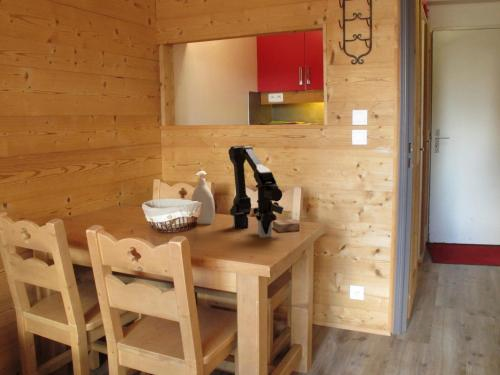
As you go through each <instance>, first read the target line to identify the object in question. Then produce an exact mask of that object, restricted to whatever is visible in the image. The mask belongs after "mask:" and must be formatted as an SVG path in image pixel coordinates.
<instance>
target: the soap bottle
mask: <svg viewBox="0 0 500 375" xmlns="http://www.w3.org/2000/svg"><path fill="white" fill-rule="evenodd" d="M205 175H207V172H205V171H204V170H200V171H198V172H197V173H194V176H200V178H198V180H197V181H198V183H197V186H196V187H195V189H194V191H193V193H192V195H191V201H198V202H202V205H201V213H200V216H199V217H198V219H197V223H196V224H199V225H211V224H212V223H213V222H214V219H215V216H216V215H215V214H216V211H215V210H216V207H215V201H214V200H215V199H214V196H213V194H212V192H211V190H210V188H209V187H208V186H207V184H206V178H204V176H205Z"/></svg>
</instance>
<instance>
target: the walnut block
mask: <svg viewBox="0 0 500 375" xmlns="http://www.w3.org/2000/svg"><path fill="white" fill-rule="evenodd" d="M300 224H301V223H300V222H298V221H296V220H295V219H293V218H289V219H276V220H274V221H272V228H273V229H274V230H276V231H277V232H278V233H287V232H286V231H290V232H298V231H297V230H300V227H301V226H300ZM295 230H296V231H295Z"/></svg>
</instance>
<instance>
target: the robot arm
mask: <svg viewBox="0 0 500 375" xmlns="http://www.w3.org/2000/svg"><path fill="white" fill-rule="evenodd" d="M228 156H229V160H230V162H231V163H232V165H233V171H234V172H233V173H234V174H233V176H234V185H235V187H234V188H235V196H234V199H233V201H232V203H233V204H232V206H231V208H230V210H229V213H230V216H233V225H232V227H233V228H234V229H246V228H249V217H248V215H250V213H251V209H252V200H251V197H250V196H249V195H248V194H247V189H246V188H247V186H246V177H245V176H246V175H245V162H247V164H248V165H249V166H250V168H251V170H252V172H253V178H254V180H255V182H256V185H255V188H256V189H257V200H256V203H257V207H254V208H253V212H252V213H253V214H254V215H255V219H256V220H257V222H258V220H260V222H261V224H262V227H263V230H264V232H265V234H268V230H269V226H270V223H271V224H272V223H273V221H274V220H277V215H276V214H275V213H277V214H279V215H282V214H283V211H284V207H283V206H282V205H279V201H281V199H282V197H283V192H282V190H281V189H280V188H279V185H278V184H277V181H276V179H275V176H274V173H273V172H272V171H271V169H269V167H267V166H264V164H262V162H261V161H260V159H259V157H258V155H257V154H256V153H255V151H254V149H253V147H252V146H251V145H245V146H244V145H236V146H234V145H232V146H230V148H229V149H228Z"/></svg>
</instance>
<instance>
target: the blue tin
mask: <svg viewBox="0 0 500 375" xmlns="http://www.w3.org/2000/svg"><path fill="white" fill-rule="evenodd" d="M272 230H273V229H272V222H271V223H270V226H269V230H268V234H265V232H264V230H263V227H262V224H261V222H260V220H258V221H257V235H258V236H259V237H260V238H272V234H273V233H272Z"/></svg>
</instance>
